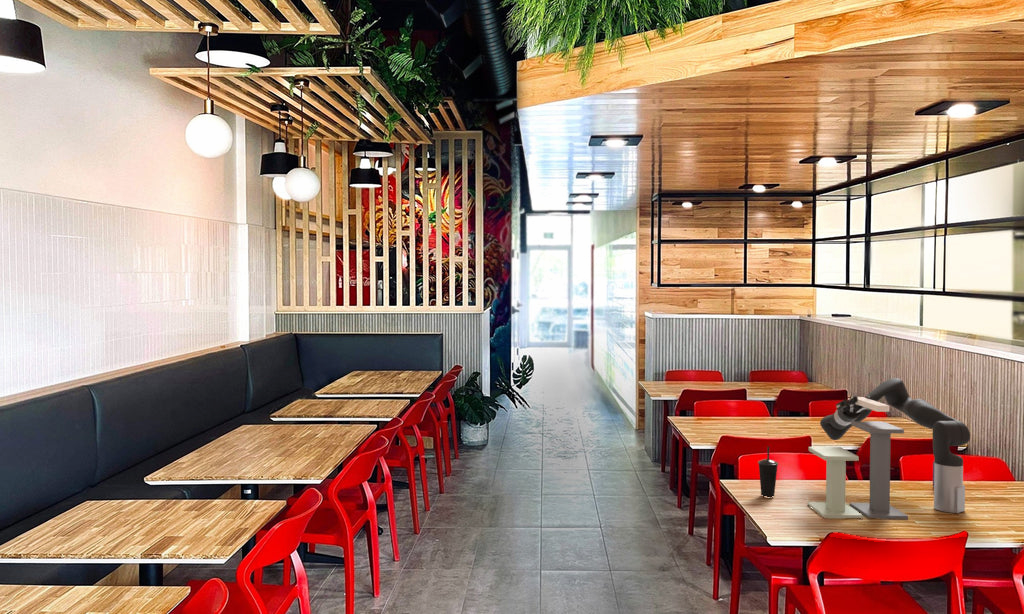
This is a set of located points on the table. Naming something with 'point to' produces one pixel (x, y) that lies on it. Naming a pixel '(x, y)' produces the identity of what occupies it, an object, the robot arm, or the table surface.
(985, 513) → the table surface
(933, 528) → the table surface
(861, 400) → the pale pink beam
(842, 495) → the low shelf
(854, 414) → the robot arm
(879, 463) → the high shelf
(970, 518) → the table surface
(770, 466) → the drinking cup
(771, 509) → the table surface
